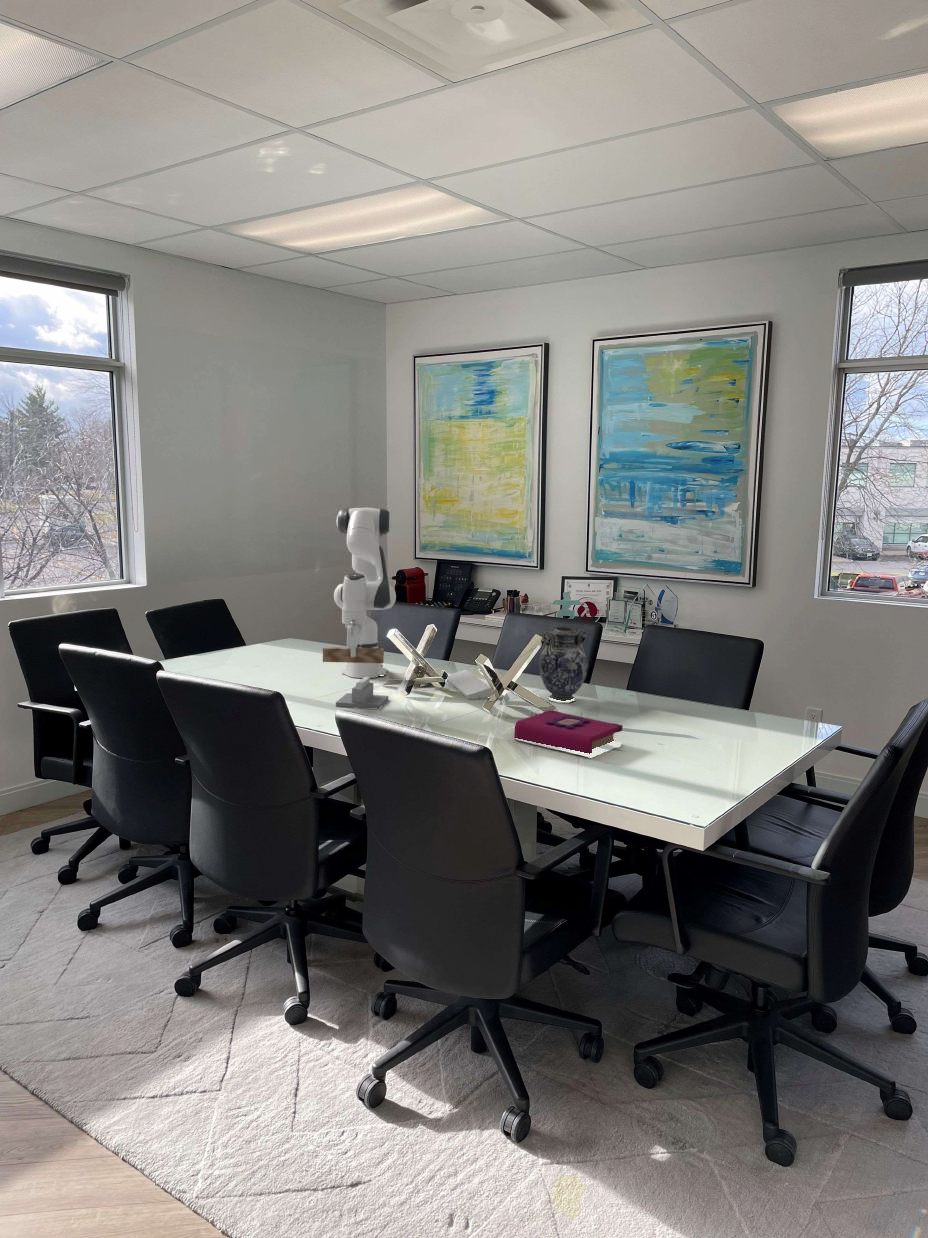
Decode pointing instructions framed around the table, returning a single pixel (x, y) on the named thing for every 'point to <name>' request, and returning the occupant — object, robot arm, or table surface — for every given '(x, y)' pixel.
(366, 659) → the brown wooden bar
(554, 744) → the book
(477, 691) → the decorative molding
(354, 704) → the stand
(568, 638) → the decorative vase
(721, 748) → the table surface
